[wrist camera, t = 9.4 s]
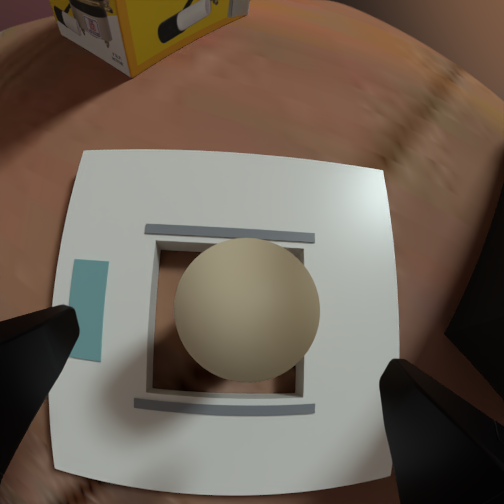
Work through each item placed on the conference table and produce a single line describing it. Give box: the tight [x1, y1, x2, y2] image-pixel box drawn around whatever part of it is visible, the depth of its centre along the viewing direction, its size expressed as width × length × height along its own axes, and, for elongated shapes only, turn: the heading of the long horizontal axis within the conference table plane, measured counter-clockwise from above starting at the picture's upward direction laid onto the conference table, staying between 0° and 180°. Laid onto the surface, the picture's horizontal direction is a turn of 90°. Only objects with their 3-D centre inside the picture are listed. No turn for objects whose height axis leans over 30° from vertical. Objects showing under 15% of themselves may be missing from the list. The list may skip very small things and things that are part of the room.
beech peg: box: [174, 238, 320, 383], centre depth 15 cm, size 5×5×10 cm
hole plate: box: [49, 149, 399, 495], centre depth 19 cm, size 22×22×2 cm
